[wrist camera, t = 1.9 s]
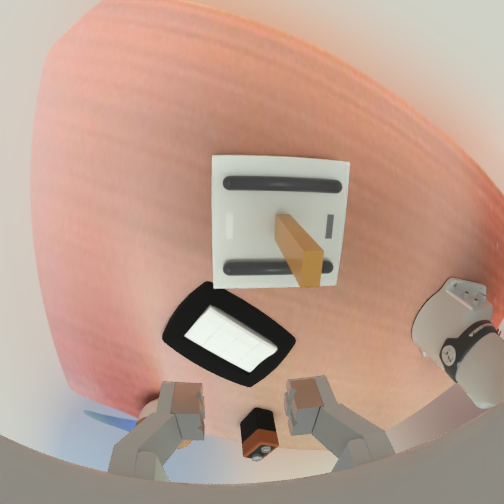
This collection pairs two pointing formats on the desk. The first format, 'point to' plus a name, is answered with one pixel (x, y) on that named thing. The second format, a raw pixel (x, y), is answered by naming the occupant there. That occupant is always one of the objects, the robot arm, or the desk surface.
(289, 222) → the lever
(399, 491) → the robot arm
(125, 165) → the desk surface
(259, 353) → the black picture frame
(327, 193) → the box
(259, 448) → the battery
